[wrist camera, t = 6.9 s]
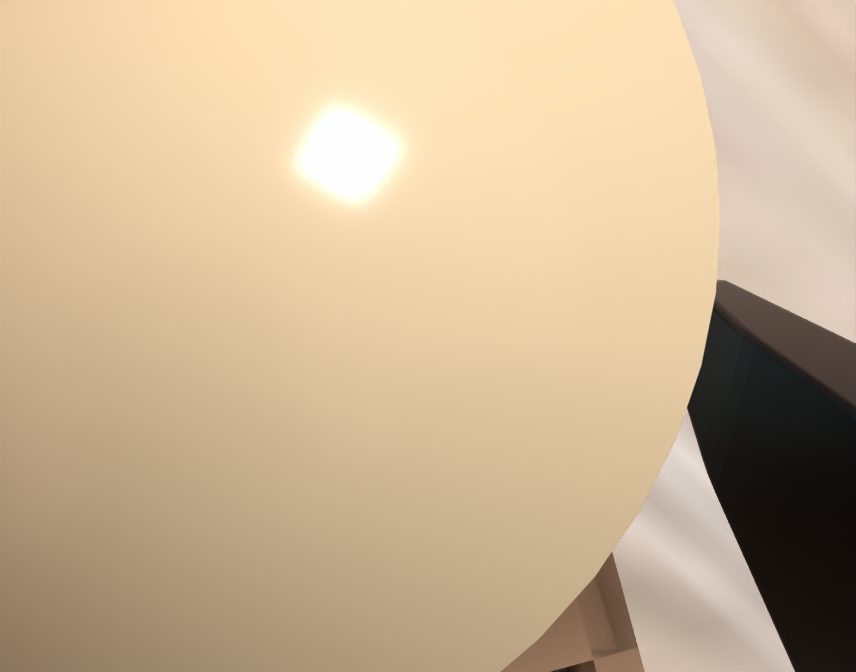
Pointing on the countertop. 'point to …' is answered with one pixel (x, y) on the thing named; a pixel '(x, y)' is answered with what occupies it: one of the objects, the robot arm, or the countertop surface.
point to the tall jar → (337, 322)
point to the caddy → (587, 633)
